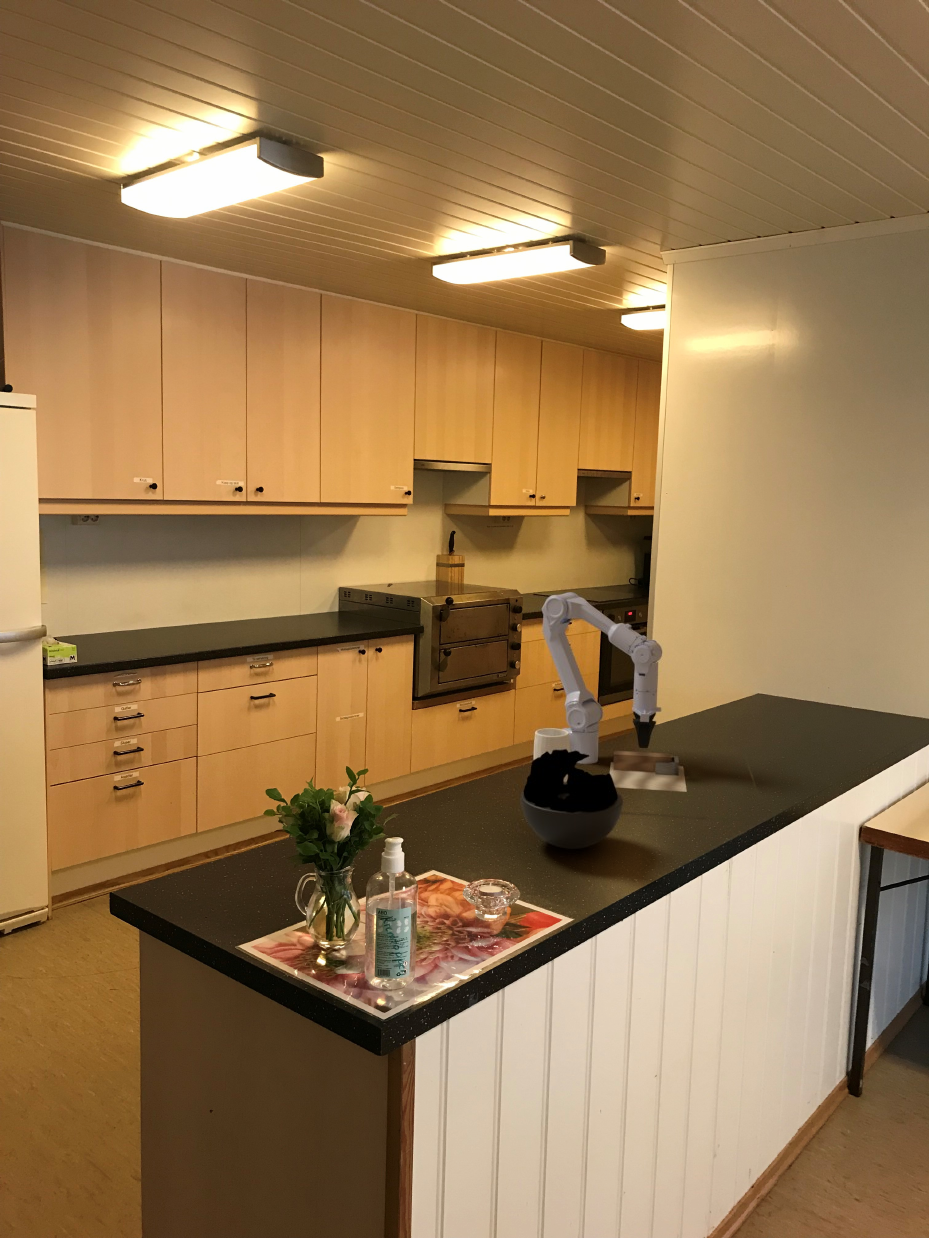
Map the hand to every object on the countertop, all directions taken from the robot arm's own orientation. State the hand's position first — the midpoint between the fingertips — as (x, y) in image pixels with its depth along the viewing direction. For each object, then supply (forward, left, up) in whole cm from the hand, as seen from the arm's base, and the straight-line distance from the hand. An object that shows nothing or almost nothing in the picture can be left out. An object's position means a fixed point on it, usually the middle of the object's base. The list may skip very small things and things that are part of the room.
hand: (643, 743), depth 244 cm
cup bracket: (+6, 0, -7) cm, 9 cm away
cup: (-21, -20, -8) cm, 30 cm away
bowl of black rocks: (-14, -54, -8) cm, 56 cm away
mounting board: (+1, -6, -7) cm, 9 cm away
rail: (0, 0, -7) cm, 7 cm away
